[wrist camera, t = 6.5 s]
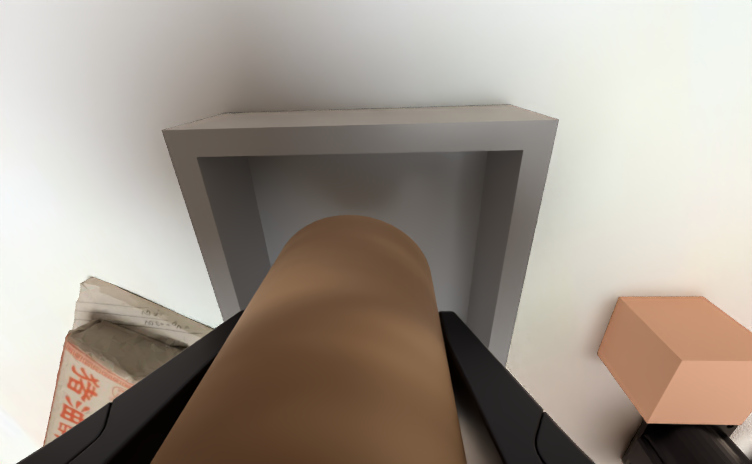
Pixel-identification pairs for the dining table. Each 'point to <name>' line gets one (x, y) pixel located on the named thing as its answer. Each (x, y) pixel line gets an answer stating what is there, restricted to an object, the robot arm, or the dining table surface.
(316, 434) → the walnut cylinder
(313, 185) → the tote
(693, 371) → the terracotta cube
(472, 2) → the dining table surface
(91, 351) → the packaged product
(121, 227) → the dining table surface
